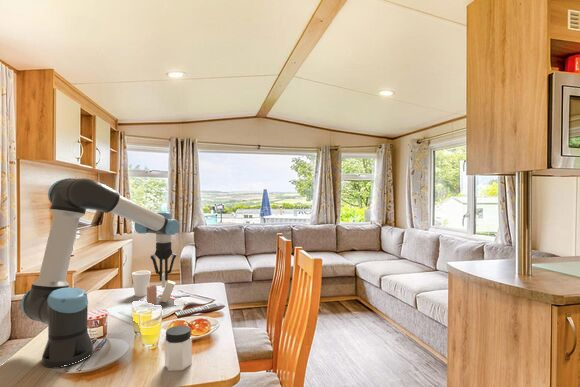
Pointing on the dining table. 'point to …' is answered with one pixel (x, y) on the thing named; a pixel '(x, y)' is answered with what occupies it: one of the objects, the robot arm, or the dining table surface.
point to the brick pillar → (152, 294)
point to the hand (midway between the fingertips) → (163, 286)
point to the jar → (178, 348)
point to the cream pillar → (167, 291)
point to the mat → (169, 301)
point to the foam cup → (141, 282)
